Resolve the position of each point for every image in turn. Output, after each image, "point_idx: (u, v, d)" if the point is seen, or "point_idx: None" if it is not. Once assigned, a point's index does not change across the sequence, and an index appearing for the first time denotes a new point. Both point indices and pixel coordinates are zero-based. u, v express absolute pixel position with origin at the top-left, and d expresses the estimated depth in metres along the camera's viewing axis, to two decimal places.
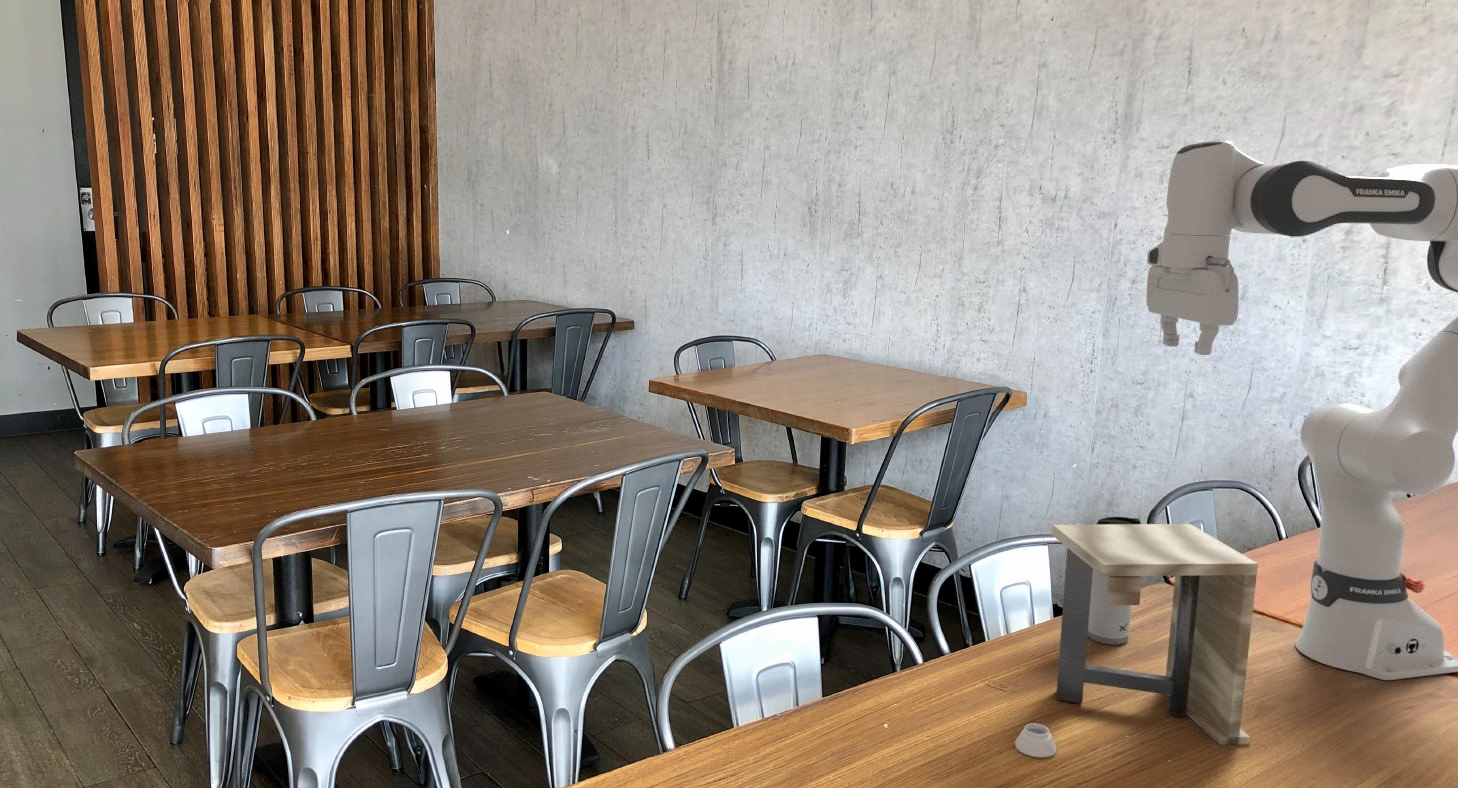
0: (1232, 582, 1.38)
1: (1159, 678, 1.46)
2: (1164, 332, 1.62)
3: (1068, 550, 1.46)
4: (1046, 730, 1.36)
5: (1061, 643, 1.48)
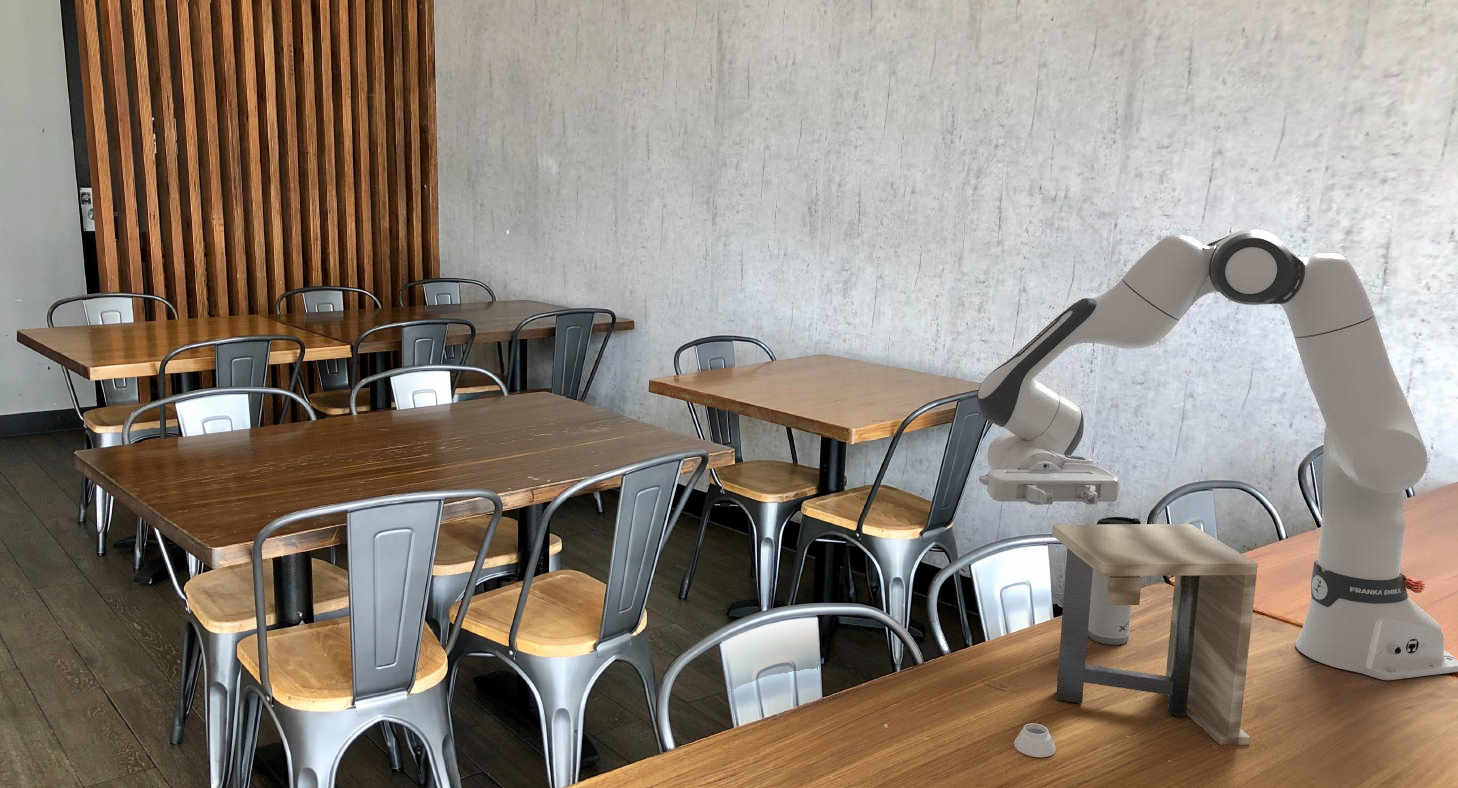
0: (1232, 582, 1.38)
1: (1159, 678, 1.46)
2: None
3: (1068, 550, 1.46)
4: (1045, 730, 1.36)
5: (1061, 643, 1.48)
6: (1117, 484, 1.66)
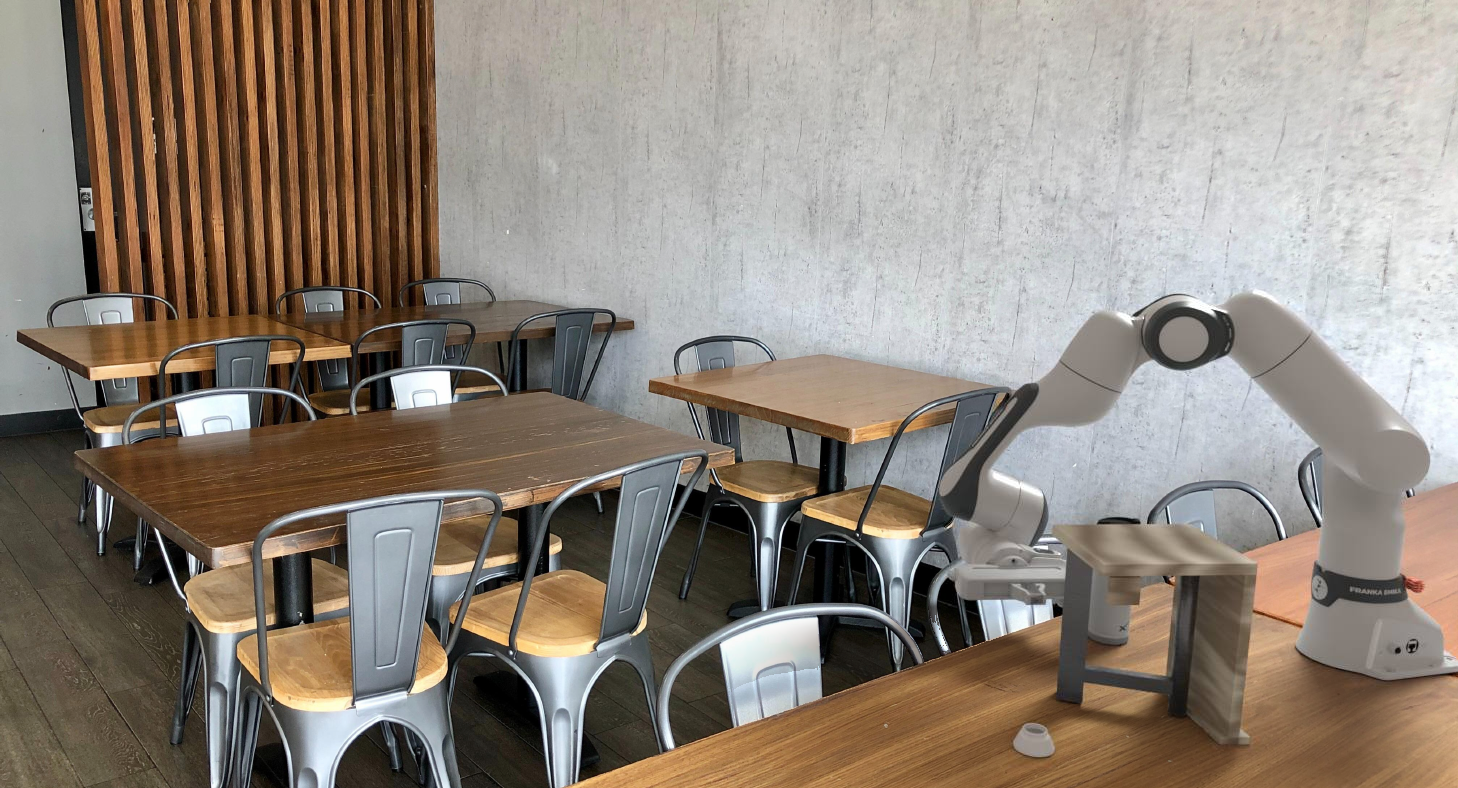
0: (1232, 582, 1.38)
1: (1159, 678, 1.46)
2: None
3: (1068, 550, 1.46)
4: (1044, 730, 1.36)
5: (1061, 643, 1.48)
6: None
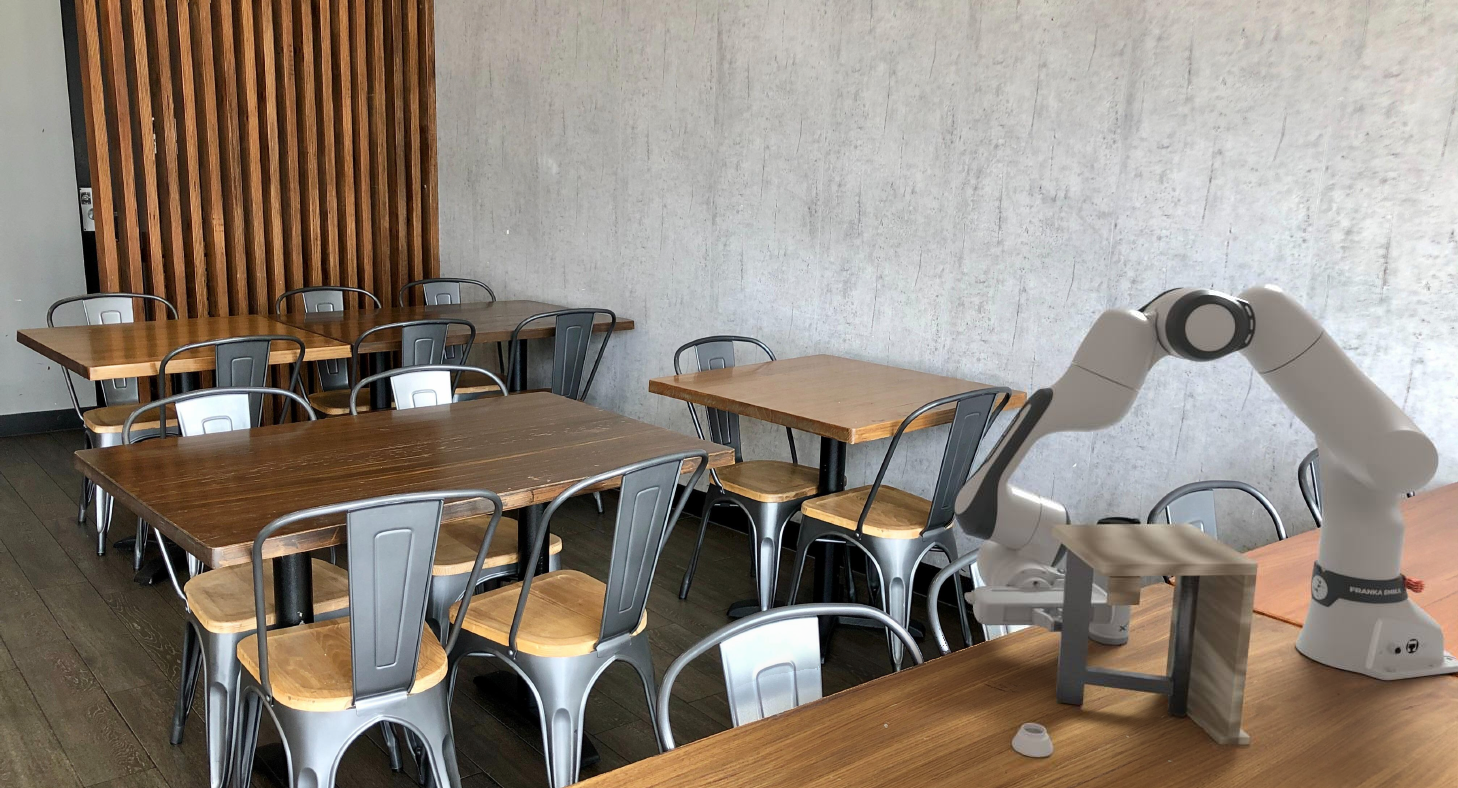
0: (1232, 582, 1.38)
1: (1159, 678, 1.46)
2: None
3: (1069, 552, 1.45)
4: (1043, 730, 1.36)
5: (1062, 645, 1.48)
6: (1111, 606, 1.56)
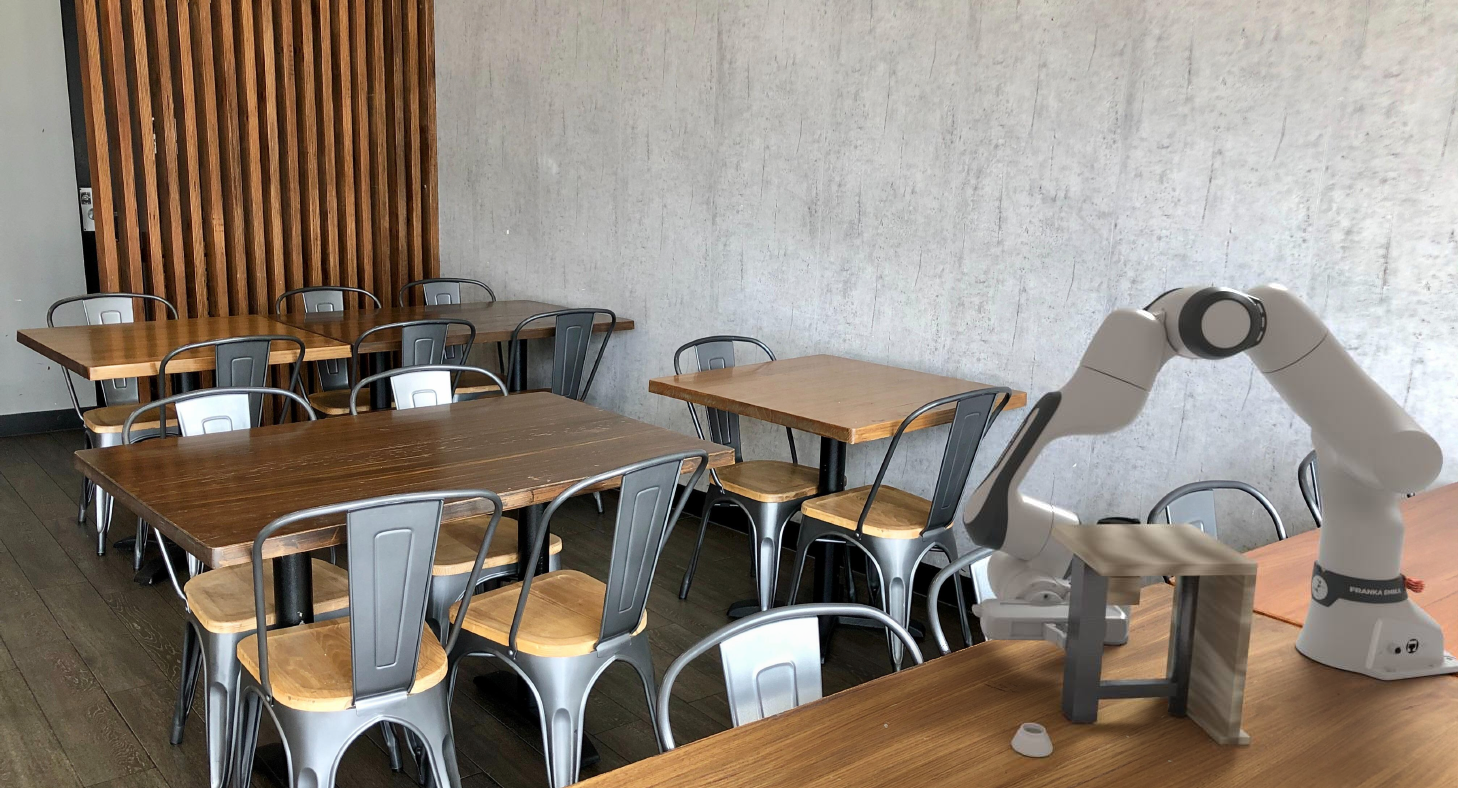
0: (1232, 582, 1.38)
1: (1163, 682, 1.45)
2: None
3: (1085, 567, 1.39)
4: (1042, 729, 1.36)
5: (1077, 664, 1.42)
6: (1125, 623, 1.50)
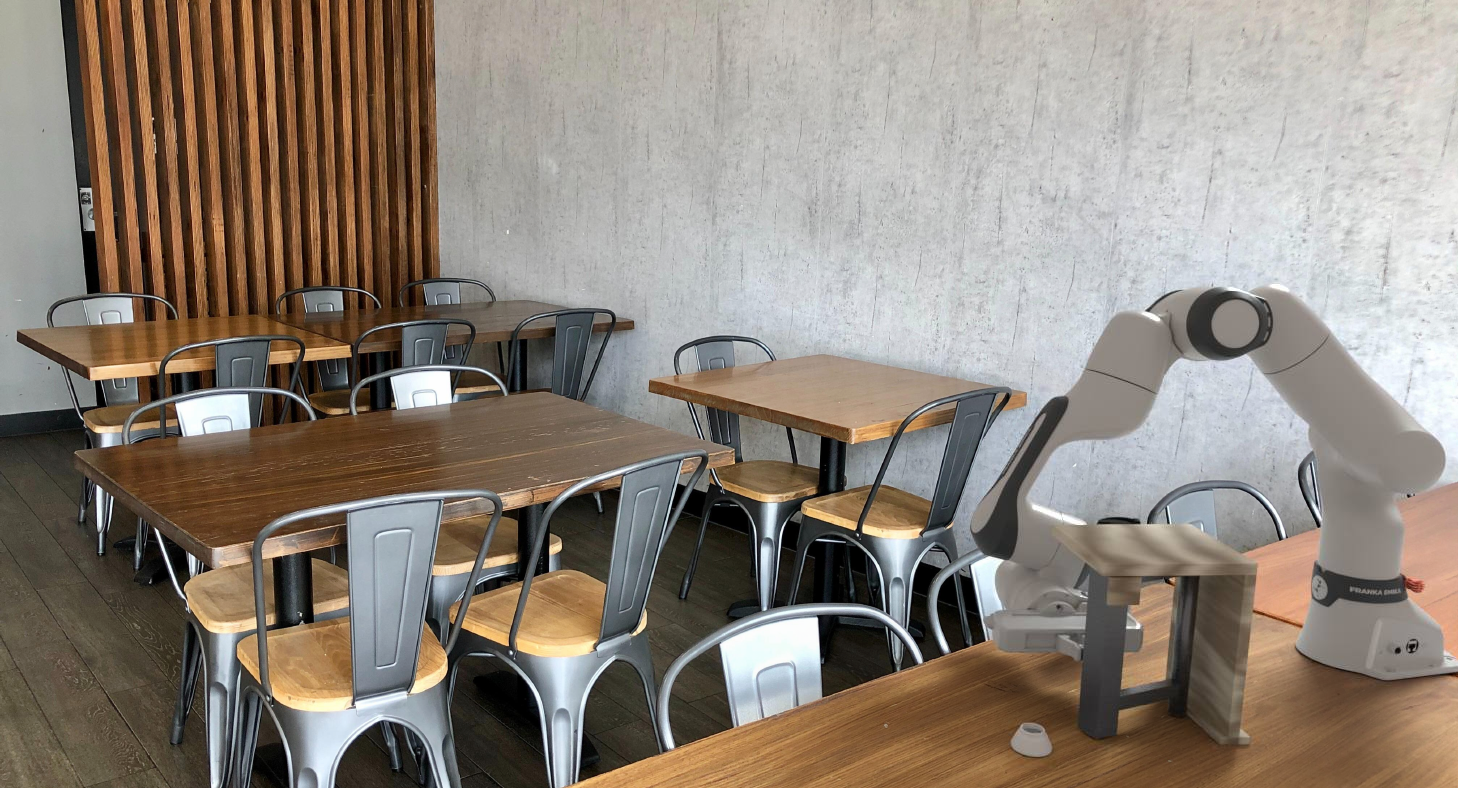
0: (1232, 582, 1.38)
1: (1167, 684, 1.44)
2: None
3: None
4: (1042, 729, 1.36)
5: (1102, 678, 1.37)
6: (1140, 633, 1.46)
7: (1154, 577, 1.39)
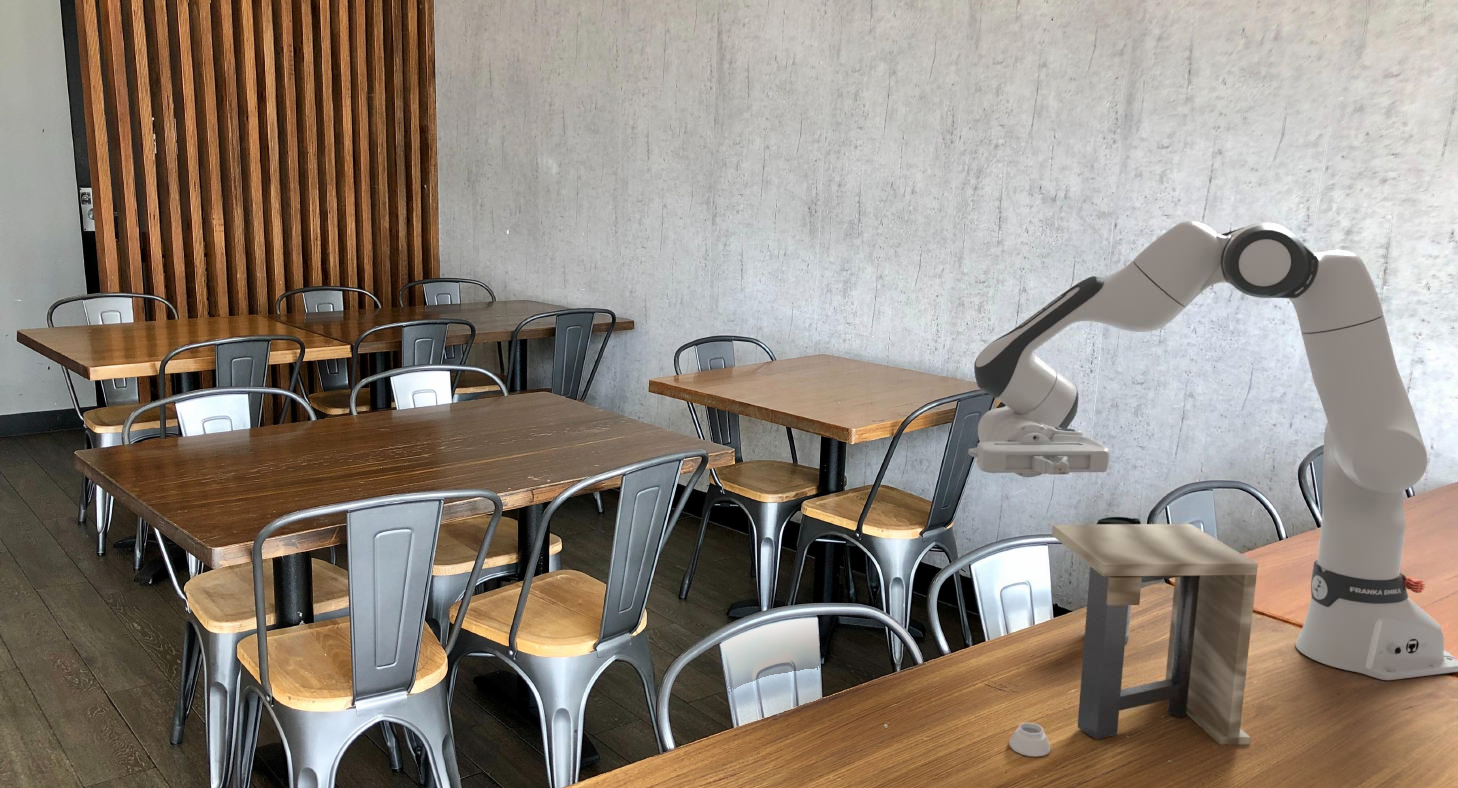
0: (1232, 582, 1.38)
1: (1167, 684, 1.44)
2: None
3: None
4: (1040, 729, 1.36)
5: (1102, 678, 1.37)
6: (1107, 454, 1.65)
7: (1154, 577, 1.39)
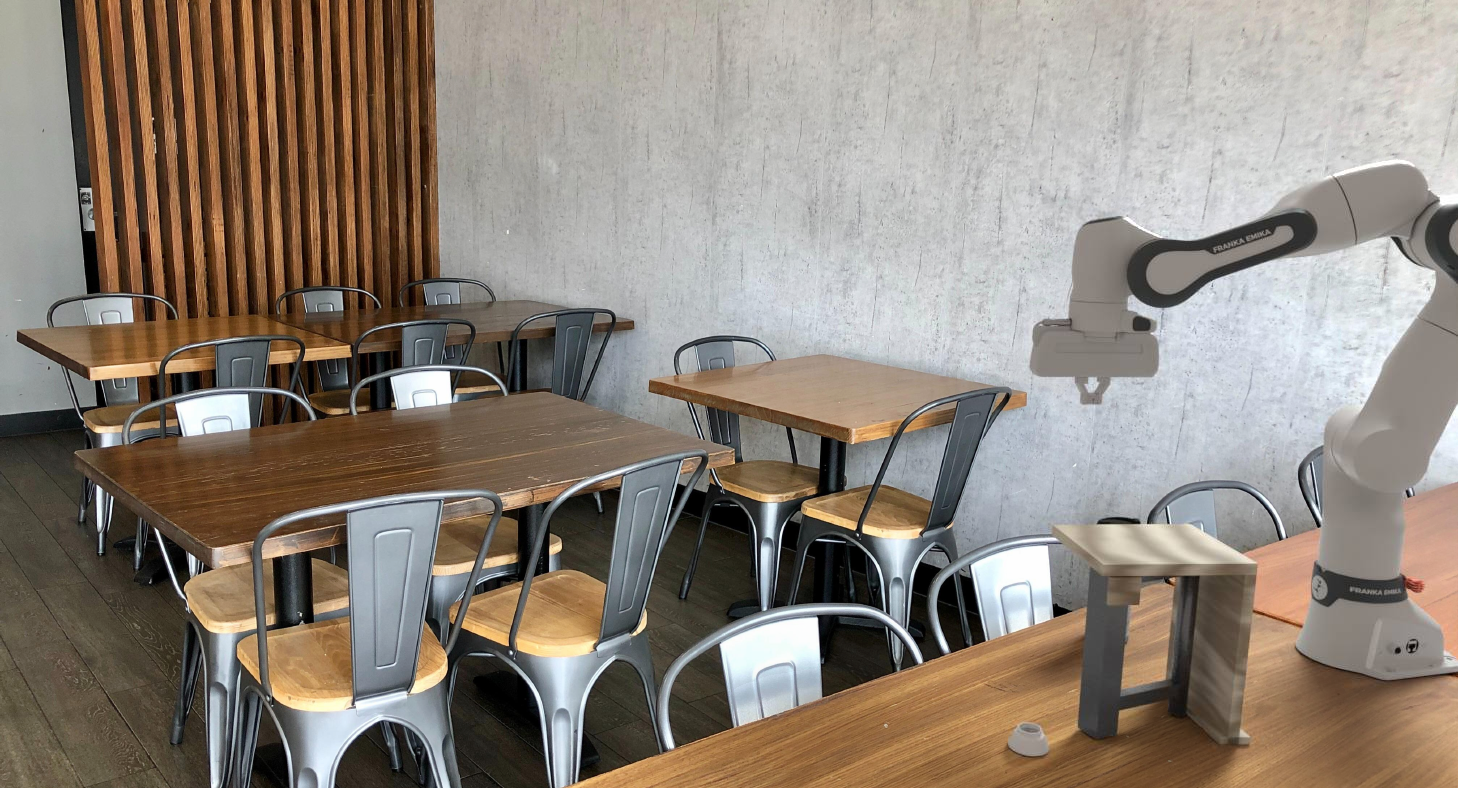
0: (1232, 582, 1.38)
1: (1167, 684, 1.44)
2: None
3: None
4: (1039, 729, 1.36)
5: (1102, 678, 1.37)
6: (1151, 376, 1.72)
7: (1154, 577, 1.39)
